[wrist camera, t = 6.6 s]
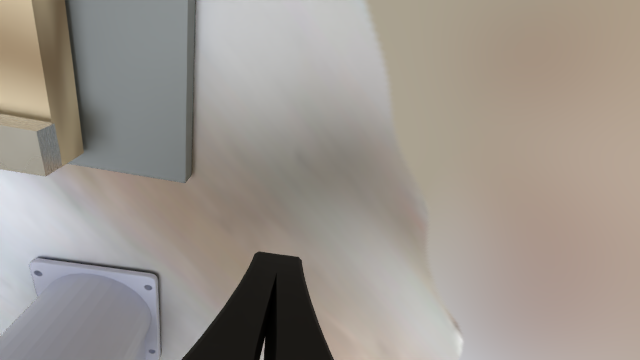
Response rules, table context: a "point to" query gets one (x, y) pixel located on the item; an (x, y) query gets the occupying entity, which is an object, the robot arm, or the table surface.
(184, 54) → the slate board
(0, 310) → the table surface
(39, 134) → the steel keeper
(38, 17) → the beech link
